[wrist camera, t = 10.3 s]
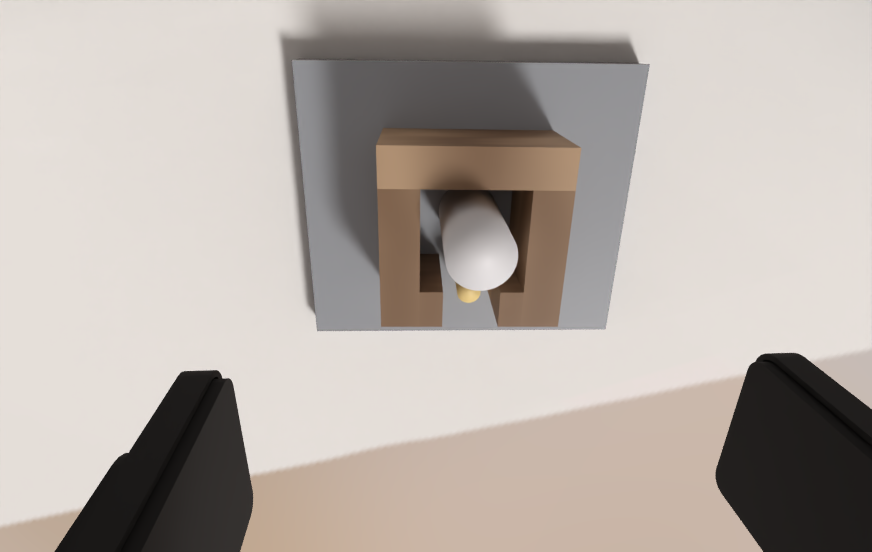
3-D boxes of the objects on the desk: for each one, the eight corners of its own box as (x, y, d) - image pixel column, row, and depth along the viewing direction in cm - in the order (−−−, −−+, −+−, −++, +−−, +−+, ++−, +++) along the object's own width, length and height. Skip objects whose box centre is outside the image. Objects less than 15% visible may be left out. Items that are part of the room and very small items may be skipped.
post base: (320, 320, 26) (291, 403, 20) (297, 59, 21) (249, 64, 15) (598, 319, 26) (652, 399, 20) (639, 63, 21) (725, 70, 15)
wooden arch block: (553, 130, 21) (581, 147, 18) (536, 284, 24) (557, 326, 21) (382, 127, 21) (376, 145, 17) (386, 284, 24) (381, 326, 20)
